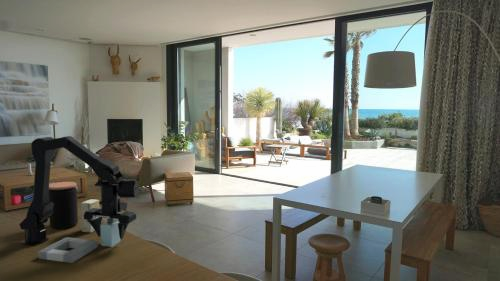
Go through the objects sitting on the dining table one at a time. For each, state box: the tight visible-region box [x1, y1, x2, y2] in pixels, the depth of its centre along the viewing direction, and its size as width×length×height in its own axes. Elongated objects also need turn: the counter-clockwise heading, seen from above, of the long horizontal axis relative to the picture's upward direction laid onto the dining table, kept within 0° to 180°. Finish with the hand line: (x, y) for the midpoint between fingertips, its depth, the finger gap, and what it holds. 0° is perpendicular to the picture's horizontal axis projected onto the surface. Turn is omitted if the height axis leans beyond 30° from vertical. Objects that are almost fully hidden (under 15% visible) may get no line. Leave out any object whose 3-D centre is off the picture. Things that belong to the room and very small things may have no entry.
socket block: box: [37, 236, 98, 264], centre depth 123 cm, size 13×13×2 cm
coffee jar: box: [48, 181, 79, 231], centre depth 148 cm, size 11×11×18 cm
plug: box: [100, 218, 122, 248], centre depth 131 cm, size 4×6×10 cm
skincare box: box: [80, 198, 101, 233], centre depth 144 cm, size 6×4×12 cm
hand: (110, 237), depth 131 cm, fingers open, 9 cm apart
